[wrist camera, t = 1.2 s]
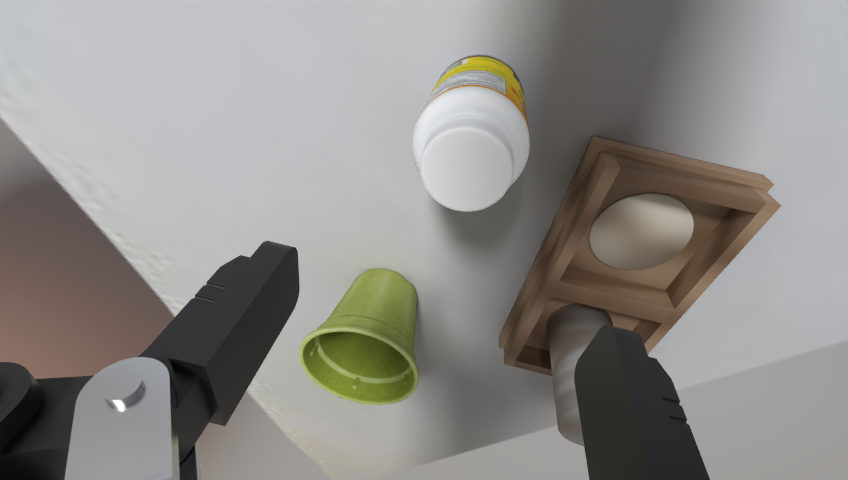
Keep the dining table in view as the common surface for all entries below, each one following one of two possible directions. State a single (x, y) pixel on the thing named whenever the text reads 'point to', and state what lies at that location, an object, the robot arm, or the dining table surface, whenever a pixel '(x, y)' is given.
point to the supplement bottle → (472, 134)
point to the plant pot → (367, 342)
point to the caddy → (628, 256)
